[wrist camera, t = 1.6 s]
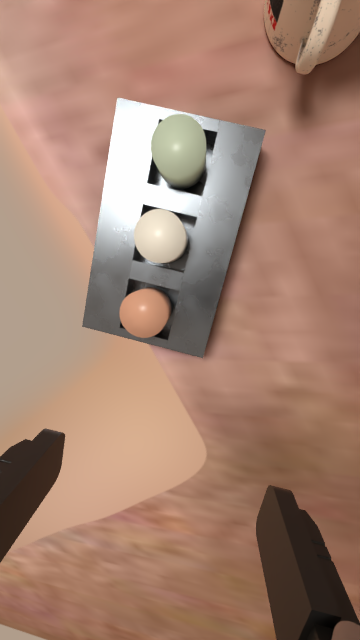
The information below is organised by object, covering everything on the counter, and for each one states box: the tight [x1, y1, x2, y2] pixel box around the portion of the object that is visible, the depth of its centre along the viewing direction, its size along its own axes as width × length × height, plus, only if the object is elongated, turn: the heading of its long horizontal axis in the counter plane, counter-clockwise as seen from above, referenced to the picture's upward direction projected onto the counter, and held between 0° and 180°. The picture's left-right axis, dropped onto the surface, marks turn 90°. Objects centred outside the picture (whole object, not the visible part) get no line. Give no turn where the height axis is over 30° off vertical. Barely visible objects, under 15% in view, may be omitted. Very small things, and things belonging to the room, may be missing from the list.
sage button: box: [151, 114, 206, 189], centre depth 22 cm, size 4×4×4 cm
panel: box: [83, 98, 266, 358], centre depth 26 cm, size 21×13×3 cm, turn 167°
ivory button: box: [134, 209, 188, 263], centre depth 24 cm, size 4×4×4 cm
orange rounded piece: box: [119, 287, 172, 338], centre depth 25 cm, size 4×4×4 cm
